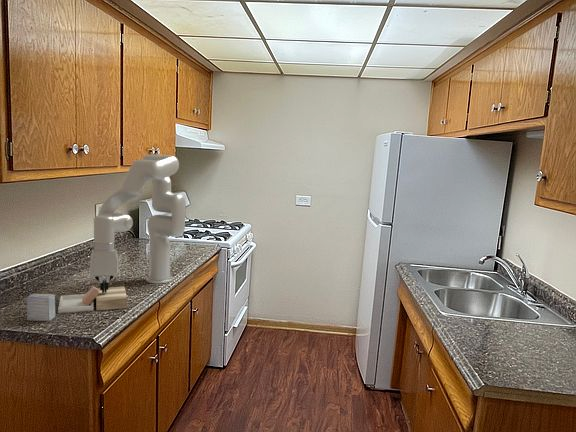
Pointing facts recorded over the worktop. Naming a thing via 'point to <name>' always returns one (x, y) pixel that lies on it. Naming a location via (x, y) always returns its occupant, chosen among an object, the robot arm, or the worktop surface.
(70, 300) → the box
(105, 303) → the beige rectangular block
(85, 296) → the tile
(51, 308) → the medicine box
